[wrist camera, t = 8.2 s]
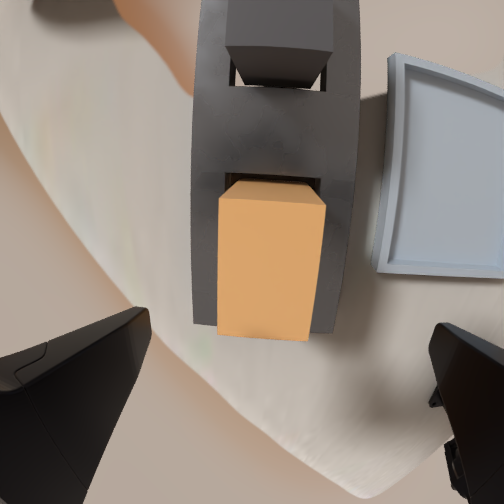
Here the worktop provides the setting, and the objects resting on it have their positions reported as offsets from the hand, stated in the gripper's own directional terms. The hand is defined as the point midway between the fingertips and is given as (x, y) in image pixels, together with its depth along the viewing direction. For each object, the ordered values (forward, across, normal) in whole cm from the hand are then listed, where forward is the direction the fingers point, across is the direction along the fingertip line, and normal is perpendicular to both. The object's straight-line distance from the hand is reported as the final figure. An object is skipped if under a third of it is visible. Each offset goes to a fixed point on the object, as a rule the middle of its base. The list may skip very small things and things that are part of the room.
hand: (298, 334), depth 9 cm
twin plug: (+12, +1, -12) cm, 17 cm away
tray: (+12, -12, -5) cm, 18 cm away
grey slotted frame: (+12, +1, -6) cm, 13 cm away
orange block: (+12, +1, 0) cm, 12 cm away
